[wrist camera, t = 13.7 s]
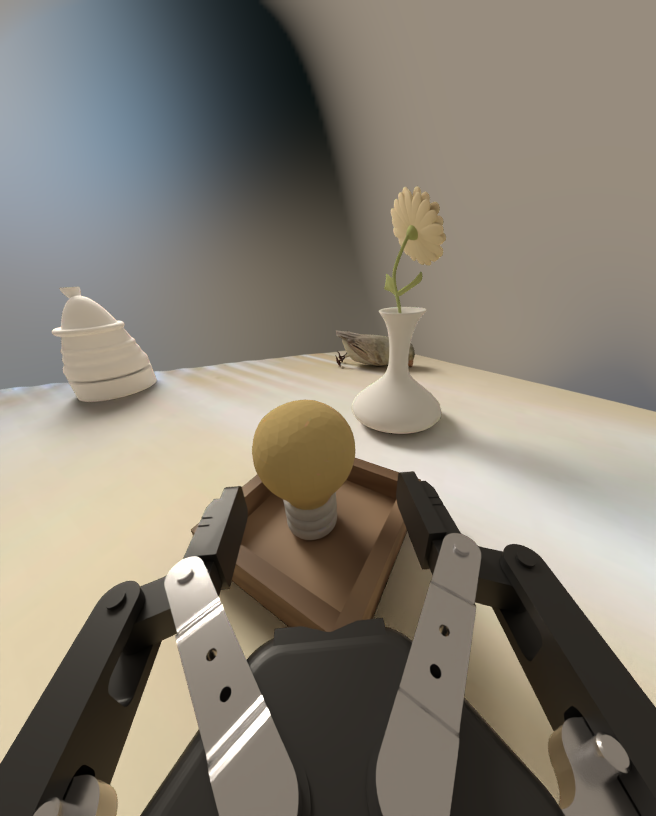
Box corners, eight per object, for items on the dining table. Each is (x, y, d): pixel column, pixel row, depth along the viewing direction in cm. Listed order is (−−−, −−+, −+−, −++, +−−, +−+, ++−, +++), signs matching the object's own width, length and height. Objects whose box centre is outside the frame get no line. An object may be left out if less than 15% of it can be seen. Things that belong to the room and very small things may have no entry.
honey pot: (67, 393, 49) (8, 290, 41) (139, 372, 59) (103, 285, 50) (92, 408, 43) (28, 289, 35) (169, 381, 52) (133, 283, 44)
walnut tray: (350, 675, 13) (349, 648, 11) (203, 557, 19) (190, 529, 17) (416, 506, 22) (420, 479, 20) (302, 462, 28) (299, 439, 26)
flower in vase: (453, 443, 29) (515, 142, 18) (351, 443, 30) (348, 159, 19) (423, 394, 41) (450, 193, 29) (351, 396, 42) (348, 202, 30)
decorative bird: (413, 372, 50) (418, 332, 47) (333, 369, 54) (331, 333, 50) (412, 363, 55) (416, 327, 51) (338, 362, 59) (337, 328, 55)
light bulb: (325, 480, 24) (317, 377, 19) (373, 531, 19) (378, 410, 14) (258, 514, 21) (229, 402, 16) (294, 585, 16) (268, 454, 11)
